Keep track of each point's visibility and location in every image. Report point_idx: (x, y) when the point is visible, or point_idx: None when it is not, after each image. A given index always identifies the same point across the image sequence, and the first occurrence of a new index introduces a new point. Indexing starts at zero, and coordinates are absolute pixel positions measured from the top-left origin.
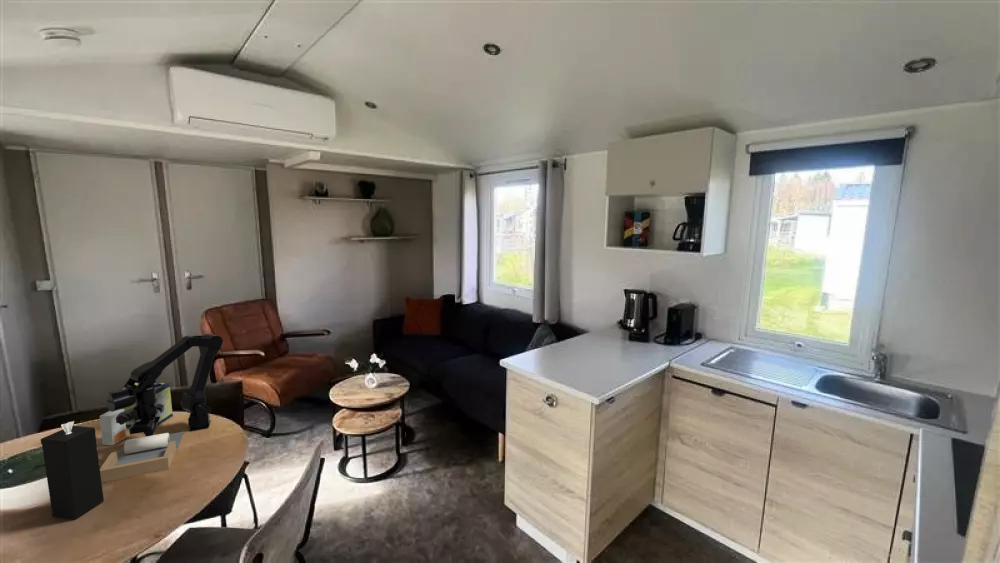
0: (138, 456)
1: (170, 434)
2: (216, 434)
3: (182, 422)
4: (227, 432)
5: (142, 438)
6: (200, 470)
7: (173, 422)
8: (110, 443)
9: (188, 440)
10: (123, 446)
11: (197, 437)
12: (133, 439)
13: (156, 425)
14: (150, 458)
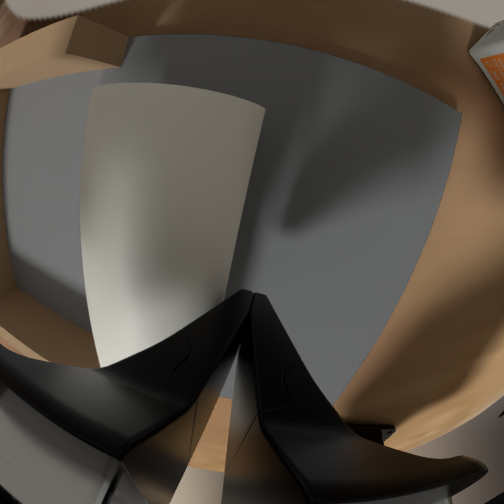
0: None
1: (345, 375)
2: (212, 451)
3: (457, 392)
4: (208, 462)
5: (101, 280)
6: (11, 345)
7: (492, 362)
8: (480, 40)
9: (215, 405)
10: (384, 82)
11: (226, 426)
12: (114, 181)
13: (225, 467)
14: (63, 253)
